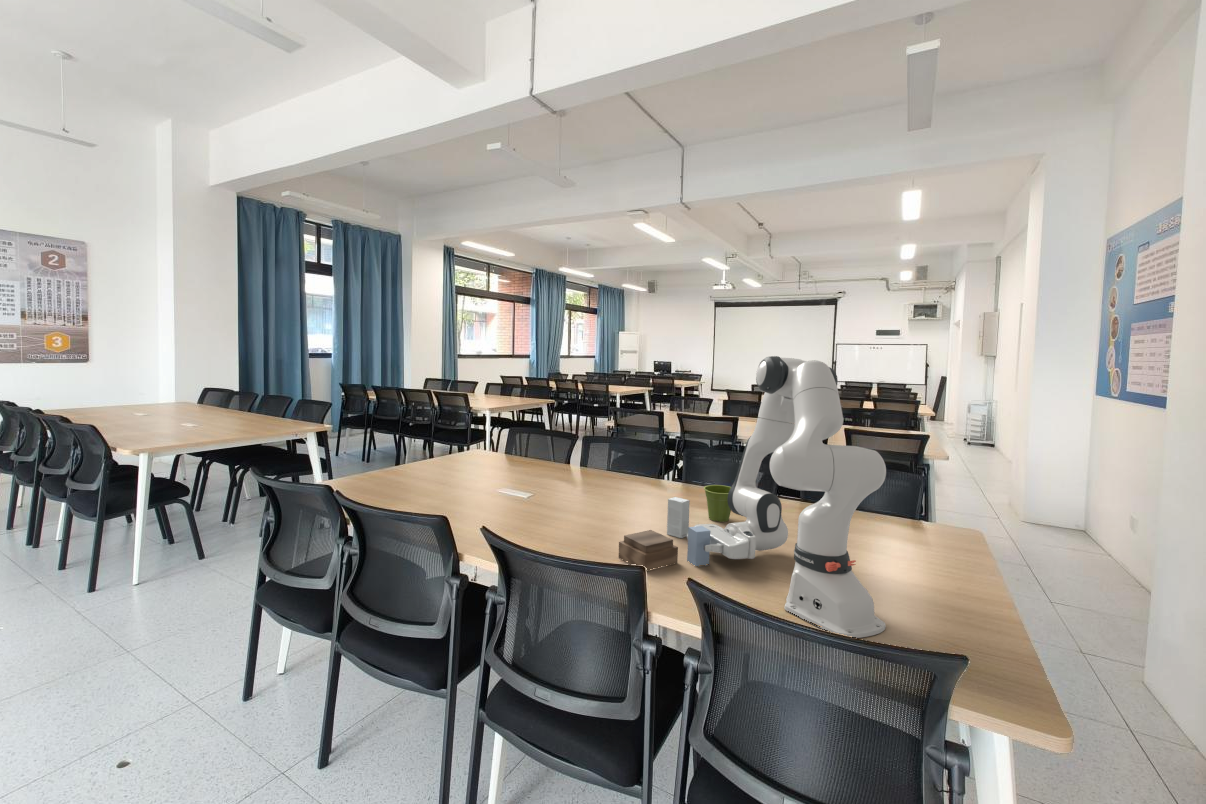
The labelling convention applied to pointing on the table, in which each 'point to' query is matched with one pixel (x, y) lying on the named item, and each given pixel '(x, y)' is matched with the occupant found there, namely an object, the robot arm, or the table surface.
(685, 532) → the skincare box
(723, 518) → the plant pot
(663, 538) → the walnut block
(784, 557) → the table surface
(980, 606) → the table surface
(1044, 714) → the table surface
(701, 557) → the slate block
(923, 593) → the table surface
